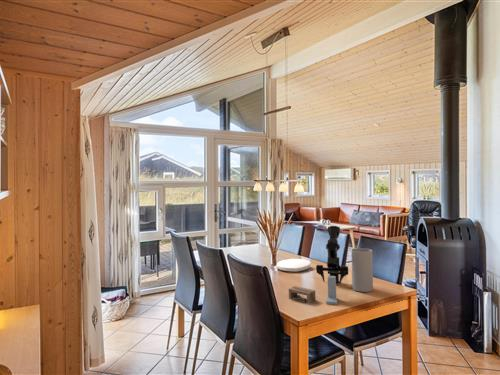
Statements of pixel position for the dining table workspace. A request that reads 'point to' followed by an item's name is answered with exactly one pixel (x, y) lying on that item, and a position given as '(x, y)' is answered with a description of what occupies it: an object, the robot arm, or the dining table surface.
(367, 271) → the cylinder vase
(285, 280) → the dining table surface
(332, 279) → the tall grey prism
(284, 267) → the plate
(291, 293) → the brown hollow brick
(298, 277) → the dining table surface
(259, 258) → the dining table surface
